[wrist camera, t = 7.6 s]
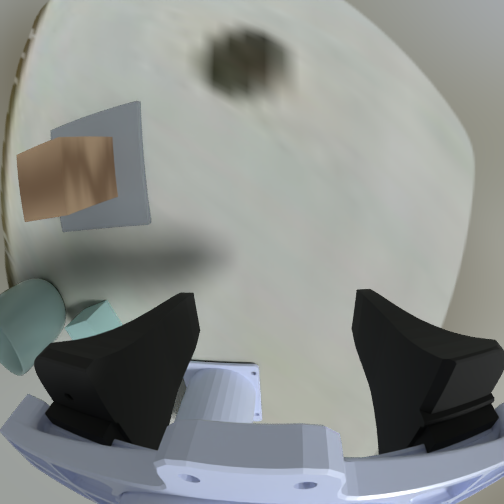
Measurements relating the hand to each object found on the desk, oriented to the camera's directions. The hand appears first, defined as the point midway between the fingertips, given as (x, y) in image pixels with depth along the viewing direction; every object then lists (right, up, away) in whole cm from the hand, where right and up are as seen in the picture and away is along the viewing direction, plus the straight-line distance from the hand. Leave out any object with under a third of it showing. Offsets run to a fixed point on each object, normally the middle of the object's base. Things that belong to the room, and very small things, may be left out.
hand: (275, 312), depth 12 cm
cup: (-25, -3, +14) cm, 29 cm away
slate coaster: (-14, +10, +9) cm, 19 cm away
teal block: (-16, -5, +14) cm, 22 cm away
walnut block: (-14, +9, +8) cm, 19 cm away
